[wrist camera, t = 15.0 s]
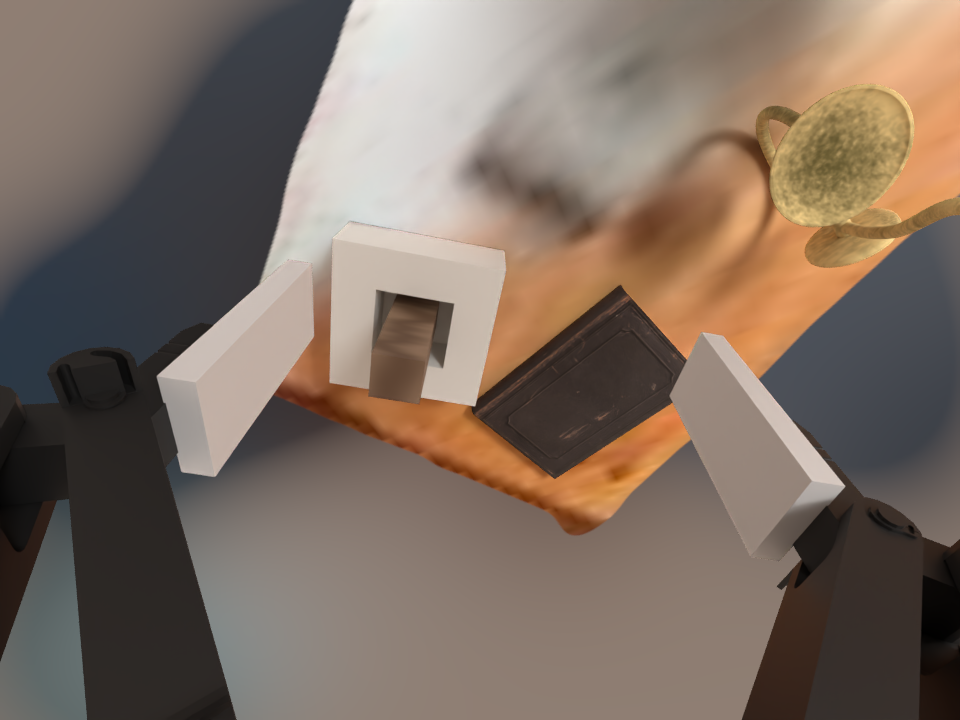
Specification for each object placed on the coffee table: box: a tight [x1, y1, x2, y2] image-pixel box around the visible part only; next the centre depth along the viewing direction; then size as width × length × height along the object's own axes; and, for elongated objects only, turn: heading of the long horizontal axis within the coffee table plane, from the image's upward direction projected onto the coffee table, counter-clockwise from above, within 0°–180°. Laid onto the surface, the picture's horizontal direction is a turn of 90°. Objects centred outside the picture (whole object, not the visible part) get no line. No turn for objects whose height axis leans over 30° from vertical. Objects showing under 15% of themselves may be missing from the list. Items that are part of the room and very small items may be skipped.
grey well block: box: [330, 221, 506, 406], centre depth 49 cm, size 16×16×6 cm
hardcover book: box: [472, 285, 687, 479], centre depth 56 cm, size 16×23×2 cm
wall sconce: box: [756, 84, 960, 268], centre depth 32 cm, size 14×10×25 cm
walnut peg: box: [368, 294, 440, 404], centre depth 44 cm, size 4×4×14 cm
